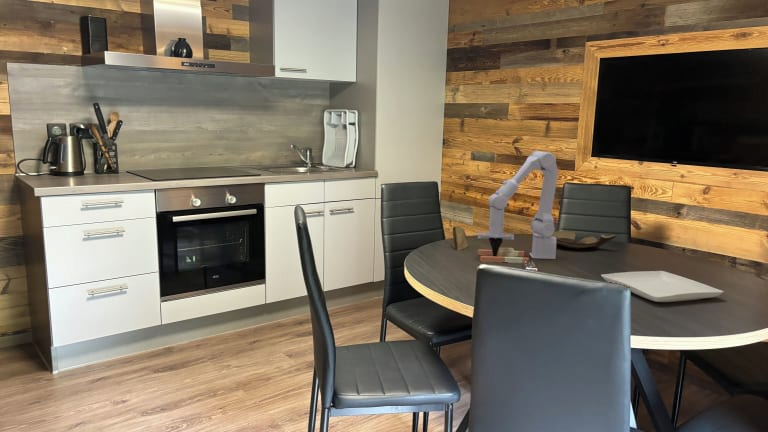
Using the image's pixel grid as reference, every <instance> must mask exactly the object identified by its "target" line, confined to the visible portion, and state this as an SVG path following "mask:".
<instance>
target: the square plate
mask: <svg viewBox="0 0 768 432" xmlns="http://www.w3.org/2000/svg"><path fill="white" fill-rule="evenodd" d="M600 276H601V277H602V278H603V279H604V280H605V281H606V282H607V283H609V282H612V283H617V284H621V285H625V286H627V287H630V289H631V291H632V292H631V293H632V294H634V295H637V296H640V297H641V298H644V299H647V300H650V301H652V302H656V303H672V302H684V301H696V300H703V299H709V298H710V299H711V298H715V297H718V296H720V295H722V294H723V293H724V292H725V291H724V290H721V289H718V288H715V287H713V286H711V285H707V284H705V283H701V282H698V281H696V280H693V279H689V278H687V277H684V276H681V275H677V274H674V273H670V272H668V271H664V270H654V271H651V270H649V271H648V270H646V271H626V272H614V273H606V274H605V273H604V274H601V275H600Z"/></svg>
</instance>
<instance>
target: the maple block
mask: <svg viewBox="0 0 768 432" xmlns="http://www.w3.org/2000/svg"><path fill="white" fill-rule="evenodd" d="M514 251H515V250H514V248H513V247H501V246H500V247H499V249H498V256H497V257H515V256H514Z"/></svg>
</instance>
